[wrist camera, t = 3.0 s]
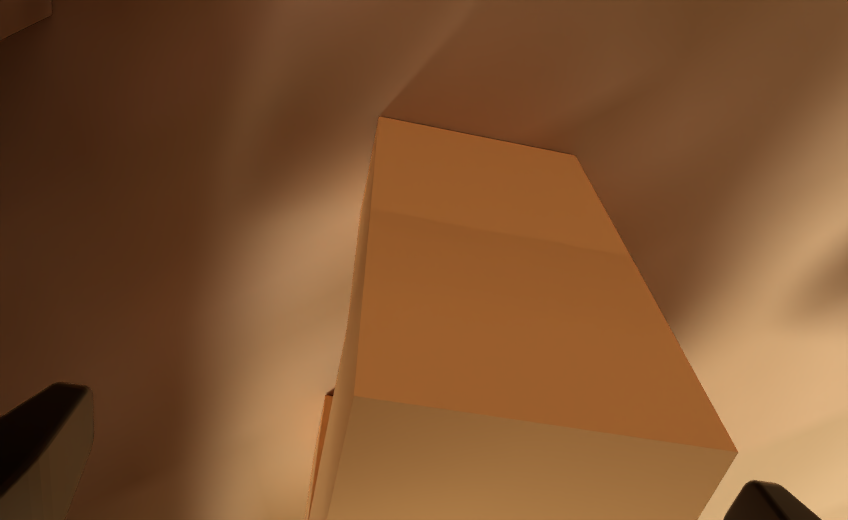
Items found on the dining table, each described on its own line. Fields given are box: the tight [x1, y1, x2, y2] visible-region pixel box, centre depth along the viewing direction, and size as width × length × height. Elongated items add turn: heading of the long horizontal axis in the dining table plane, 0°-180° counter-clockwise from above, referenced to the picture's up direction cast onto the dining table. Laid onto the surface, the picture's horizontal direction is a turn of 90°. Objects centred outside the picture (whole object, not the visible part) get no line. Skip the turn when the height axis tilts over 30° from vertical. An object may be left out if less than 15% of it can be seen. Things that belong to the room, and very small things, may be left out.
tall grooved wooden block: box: [305, 116, 738, 520], centre depth 10 cm, size 7×3×6 cm, turn 168°
